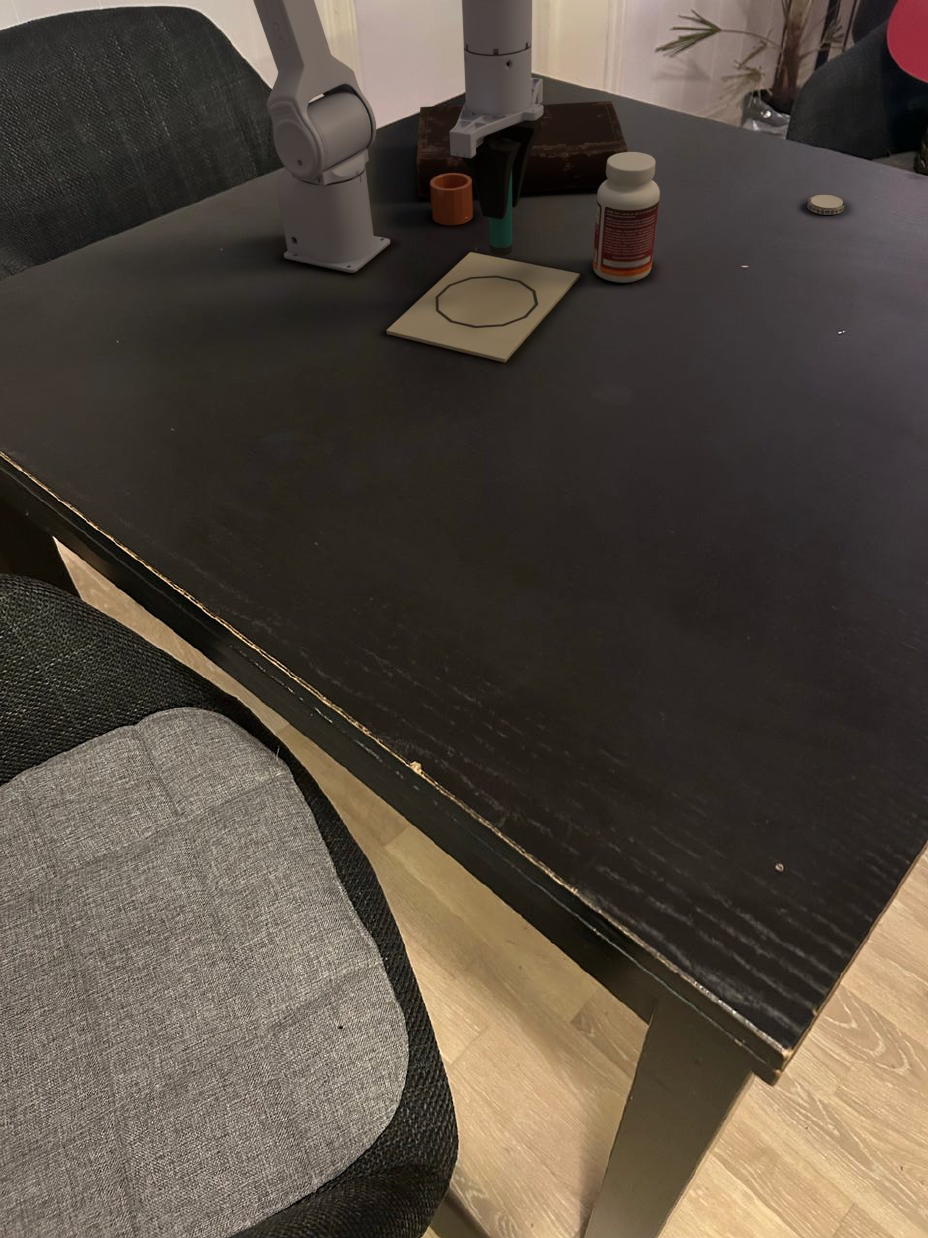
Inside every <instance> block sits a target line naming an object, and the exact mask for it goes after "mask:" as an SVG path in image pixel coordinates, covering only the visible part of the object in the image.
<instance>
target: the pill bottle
mask: <svg viewBox="0 0 928 1238" xmlns="http://www.w3.org/2000/svg"><path fill="white" fill-rule="evenodd" d="M655 174H656V159H655V157H653V156H652V155H650V154H648V153H644V152H639V151H628V152H624V153H618V154H615V155H612V156H611V157H609V158H608V160H607V166H606V176H607V178H608V179H607V180H606V181H604V182H603V183H602V184H601V186H600V187H599V188H597V193H596V208H595V222H594V223H595V224H594V237H593V238H594V239H593V256H592V269H593V272H594V273H595V274H596V275H597V276H598V277H599V278H601V279H603V280H605V281H609V282H613V283H620V284H621V283H623V284H625V283H627V284H628V283H633V282H637V281H640V280H641V279H642V280H643V279H644V278H645V277H647V276H648V275H649V274H650V272H651V270H652V266H653V260H654V259H653V257H654V252H655V251H654V250H655V242H656V231H657V223H658V214H659V208H660V206H659V205H660V195H661V191H660V187H659V185H658V183H656V181H654V180H653V179H654V177H655Z"/></svg>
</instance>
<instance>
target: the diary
mask: <svg viewBox="0 0 928 1238" xmlns="http://www.w3.org/2000/svg"><path fill="white" fill-rule="evenodd" d="M463 105H464V103H462V104H450V105H449V104H446V105H431V106H430V105H429V106H420V107H419V116H418V117H419V118H418V130H417V146H416V147H417V148H416V160H415V161H416V163H415V164H416V176H417V177H416V178H417V189H418V197H419V198H431V192H430V181H431V180H432V179H433V178H434V177H436V176H439V175H442V174H448V173H459V174H464V175H467V176H469V177H470V178H471V179H472V177H471V175H470V172H469V170H468V168H467V166H466V164H465V162H464V160H463V159H462V157H459V156H452V155H451V152H450V133H449V131H450V130H452V129H453V128H454V127H455V126H456V124H457V121H458V119H459V116H460V113H461V111H462V108H463ZM541 105H542V106H543V115H542V116H541V117H539V118H538V119H539V120H541V131H540V132H539V134H538V136H537V138H536V140H535V143H534V145H533V147H532V150H531V153H530V155H529V158H528V162H527V165H526V169H525V173H524V178H523V182H522V187H521V192H520V193H532V192H542V191H543V192H544V191H554V190H568V189H599V187H600V186H601V184H602V183H603V182H604V181H606V180H607V179H608V178H607V176H606V166H607V160H608V158H609V157H611V156H612V155H615V154H618V153H624V152H629V149H628V146H627V142H626V140H625V137H624V133H623V130H622V127H621V126H622V125H621V122H620V120H619V117H618V115H617V110H616V108H615V106H614V104H613V101H611V100H604V101H602V100H601V101H581V102H565V103H564V102H563V103H561V102H560V103H545V104H544V103H543V104H541ZM472 192H473V194H477V193H476V189H475V186H474V183H473V180H472Z"/></svg>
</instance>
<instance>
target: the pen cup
mask: <svg viewBox="0 0 928 1238" xmlns="http://www.w3.org/2000/svg"><path fill="white" fill-rule="evenodd" d="M430 192H431V197H430V204H431V205H430V207H431V215H432V217H431V218H432V220H433V221H434V222H435V223H437V224H439V225H442V226H459V225H462V224H466V223H468V222H470V221H471V220H472V219H473V217H474V193H473V192H472V179H471V178H470V177H469V176H467V175H464V174H459V173H448V174H442V175H439V176H436V177H434V178H433V179H432V180H431V181H430Z"/></svg>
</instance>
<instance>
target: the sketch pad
mask: <svg viewBox="0 0 928 1238" xmlns="http://www.w3.org/2000/svg"><path fill="white" fill-rule="evenodd" d="M580 276H581V273H577V272H573V271H568V270H563V269H558V268H552V267H546V266H542V265H538V264H532V263H527V262H522V261H517V260H513V259H508V258H502V257H497V256H494V255H493V256H492V255H488V254H482V253H477V252H472V251H470V252H469V253H467V254H466V255H465V256H464V257H463V258H462V259H461V260H460V261H459V262H458V263H457V264H456V265H454V267H452V269H450V270H449V271H448V272H447V273H446V274H445V275H443V277H442V278H441V279H440V280H438V281H437V282H436V284H434V285H432V287H431V288H430V289H429V290H427V292H426V293H425V294H424V295H422V296H421V297H420V298H419V299H418V300H417V301H416V302H415V303H414V304H413V305H412V306H411V307H410V308H409V309H407V310H406V311H405V312H404V313H403V314H402V315H401V316H400V317H399V318H398V319H397V320H396V321H395V322H394V323H392V324H391V325H390V326H389V327H388V328H387V329H386V335H390V336H392V337H393V336H394V337H399V338H402V339H406V340H410V341H415V342H419V343H422V344H426V345H431V346H434V347H439V348H444V349H447V350H451V351H454V352H455V351H456V352H460V353H464V354H468V355H472V356H477V357H479V358H480V357H481V358H483V359H489V360H492V361H497V362H500V363H505V364H506V362H507V361H509V359H510V358H511V356H513V354H514V353H515V352H516V351H517V350H518V349H519V347H521V345H522V344H523V343H524V342H525V341H526V340H527V338H528V337H529V336H530V335H531V334H532V333H533V331H534V330H535V329H536V328H537V327H538V326H539V324H540V323H542V321H543V320H545V318H546V316H547V315H548V314H549V313H550V312H551V311H552V309H553V308H555V306H556V305H557V304H558V303H559V302H560V301H561V299H562V298H563V297H564V296H565V294H567V292H569V290H570V289H571V288H572V287H573V286H574V284H575V283H576V282H577V281H578V280H579V279H580Z"/></svg>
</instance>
